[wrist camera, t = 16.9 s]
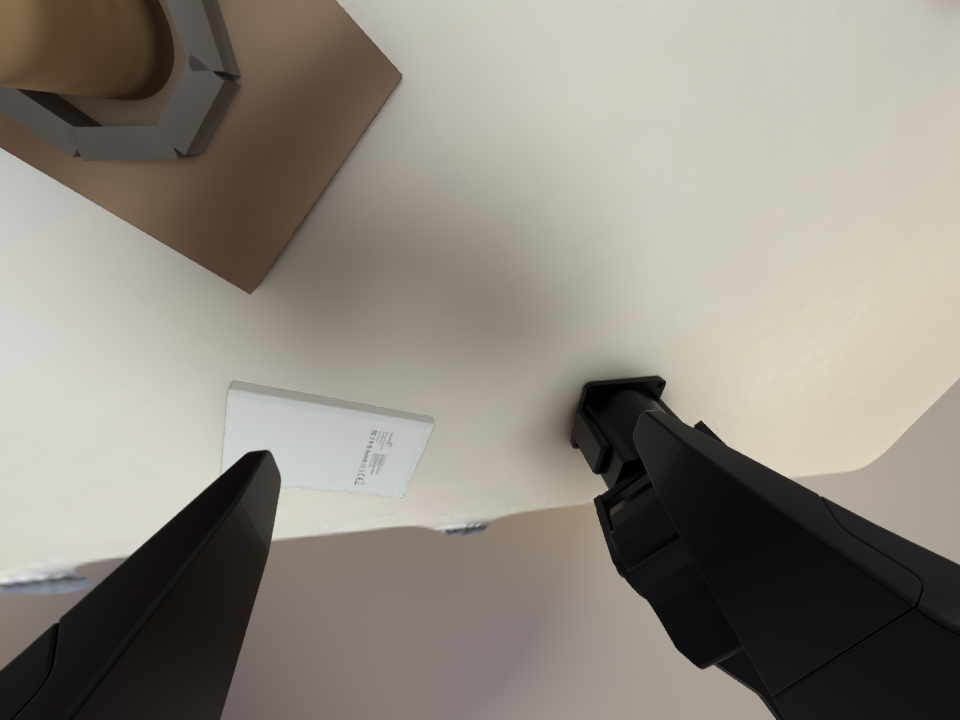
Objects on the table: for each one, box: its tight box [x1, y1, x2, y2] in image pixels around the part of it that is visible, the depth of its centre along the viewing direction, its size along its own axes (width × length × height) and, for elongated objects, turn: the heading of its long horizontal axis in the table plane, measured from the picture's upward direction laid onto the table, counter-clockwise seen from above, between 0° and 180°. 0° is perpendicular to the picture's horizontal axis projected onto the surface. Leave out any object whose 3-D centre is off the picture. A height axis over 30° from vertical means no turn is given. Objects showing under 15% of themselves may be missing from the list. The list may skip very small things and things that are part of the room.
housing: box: [0, 0, 402, 294], centre depth 11 cm, size 16×12×2 cm
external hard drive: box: [220, 381, 434, 498], centre depth 25 cm, size 2×8×12 cm
